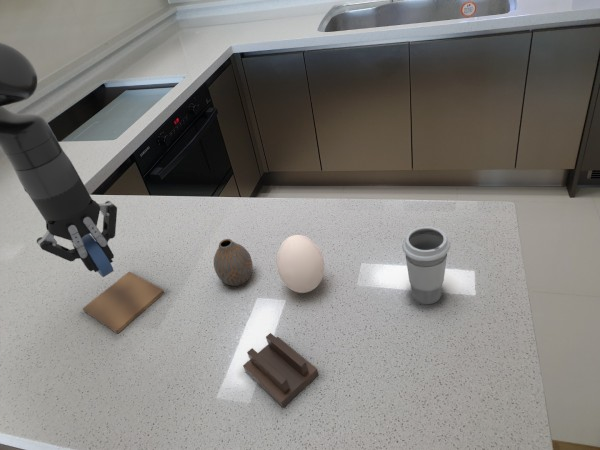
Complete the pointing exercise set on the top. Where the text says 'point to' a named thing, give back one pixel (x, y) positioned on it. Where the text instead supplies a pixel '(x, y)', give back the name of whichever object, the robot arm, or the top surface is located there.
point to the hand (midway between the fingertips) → (102, 264)
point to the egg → (300, 264)
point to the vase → (232, 263)
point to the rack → (280, 370)
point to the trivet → (123, 301)
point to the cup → (426, 262)
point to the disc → (97, 255)
